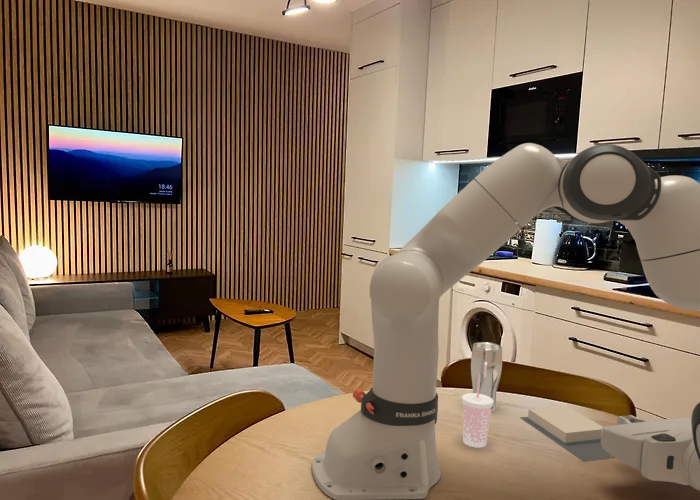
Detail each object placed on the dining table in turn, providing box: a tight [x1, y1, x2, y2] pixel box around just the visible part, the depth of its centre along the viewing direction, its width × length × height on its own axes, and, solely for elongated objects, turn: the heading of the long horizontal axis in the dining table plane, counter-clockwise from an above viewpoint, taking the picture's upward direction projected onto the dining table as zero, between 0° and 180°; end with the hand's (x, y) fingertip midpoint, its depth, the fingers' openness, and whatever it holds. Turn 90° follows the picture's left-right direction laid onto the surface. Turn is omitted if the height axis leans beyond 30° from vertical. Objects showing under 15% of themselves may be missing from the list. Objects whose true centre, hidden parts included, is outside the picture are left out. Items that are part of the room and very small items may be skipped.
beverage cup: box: [461, 374, 493, 448], centre depth 103 cm, size 6×6×14 cm
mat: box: [519, 416, 616, 463], centre depth 108 cm, size 12×20×1 cm, turn 17°
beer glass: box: [470, 341, 503, 413], centre depth 120 cm, size 7×7×15 cm
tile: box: [527, 405, 604, 445], centre depth 110 cm, size 10×2×12 cm
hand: (623, 419), depth 96 cm, fingers closed
